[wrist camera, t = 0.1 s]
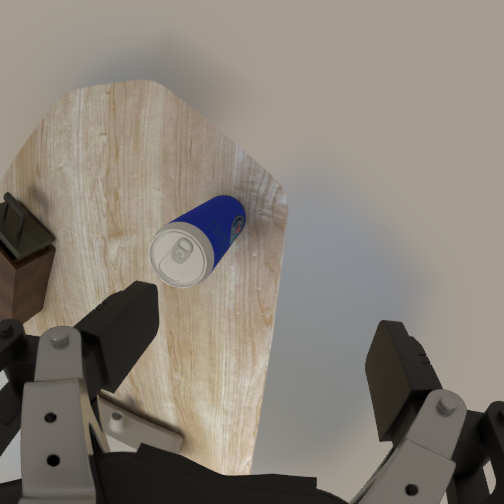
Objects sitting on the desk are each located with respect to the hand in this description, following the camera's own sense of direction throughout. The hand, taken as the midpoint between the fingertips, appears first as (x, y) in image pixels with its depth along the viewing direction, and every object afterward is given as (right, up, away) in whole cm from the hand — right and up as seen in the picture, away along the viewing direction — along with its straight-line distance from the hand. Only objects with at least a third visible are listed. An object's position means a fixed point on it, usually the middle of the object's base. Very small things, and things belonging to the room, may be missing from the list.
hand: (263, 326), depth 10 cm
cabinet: (-43, +1, +33) cm, 54 cm away
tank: (-26, -32, +42) cm, 59 cm away
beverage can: (-3, +7, +25) cm, 26 cm away
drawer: (-40, +5, +31) cm, 51 cm away
